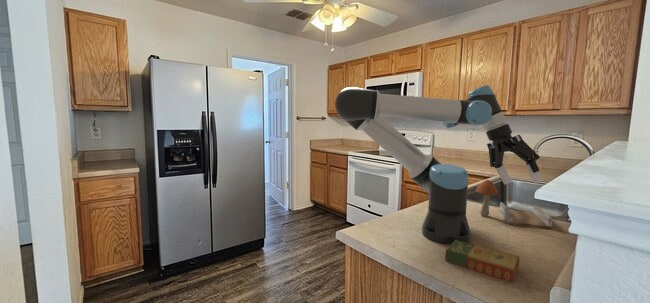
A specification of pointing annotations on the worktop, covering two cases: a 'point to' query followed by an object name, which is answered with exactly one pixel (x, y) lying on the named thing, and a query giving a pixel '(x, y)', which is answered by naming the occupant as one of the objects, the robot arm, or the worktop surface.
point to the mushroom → (486, 195)
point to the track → (526, 217)
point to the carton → (483, 260)
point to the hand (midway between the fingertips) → (522, 182)
